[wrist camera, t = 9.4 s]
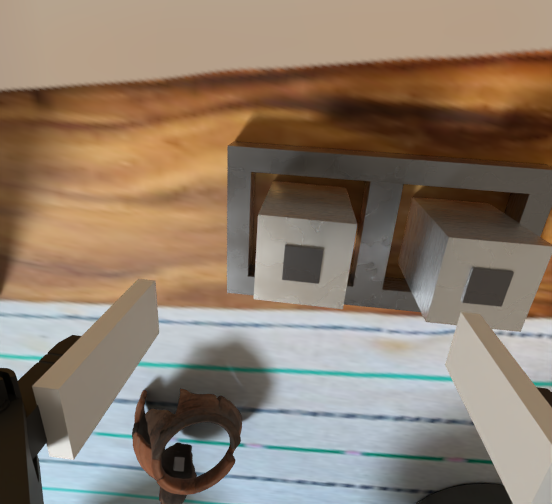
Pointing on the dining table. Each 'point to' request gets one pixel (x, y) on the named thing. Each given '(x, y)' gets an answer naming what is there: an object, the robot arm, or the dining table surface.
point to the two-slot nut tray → (372, 205)
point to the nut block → (304, 245)
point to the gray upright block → (471, 262)
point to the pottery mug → (178, 458)
